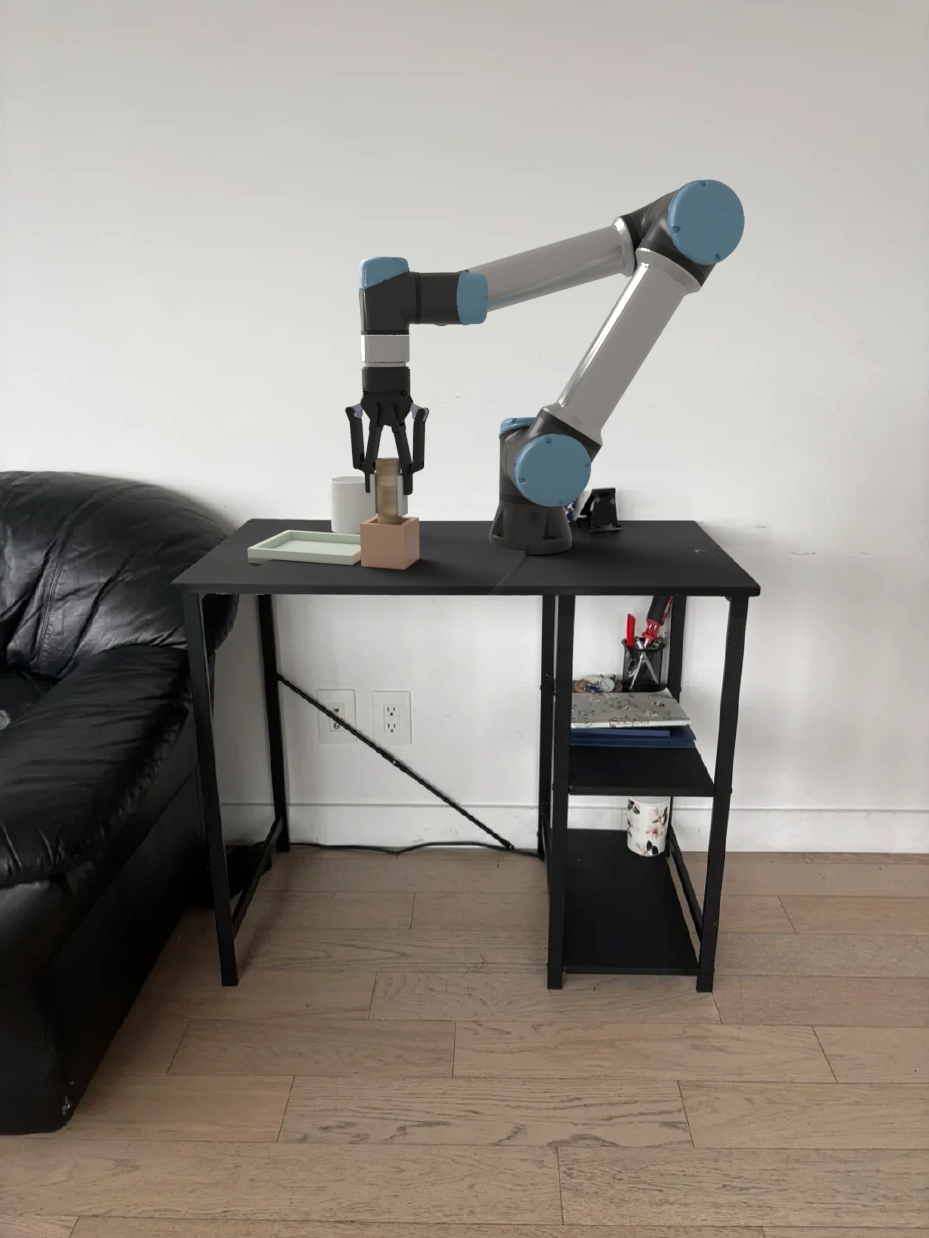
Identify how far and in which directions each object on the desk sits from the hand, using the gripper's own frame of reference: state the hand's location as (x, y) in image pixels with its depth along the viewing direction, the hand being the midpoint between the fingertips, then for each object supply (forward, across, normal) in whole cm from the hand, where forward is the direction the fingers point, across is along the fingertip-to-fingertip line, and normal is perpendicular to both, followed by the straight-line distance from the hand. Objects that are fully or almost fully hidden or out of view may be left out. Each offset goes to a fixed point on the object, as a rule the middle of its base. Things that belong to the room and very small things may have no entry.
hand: (389, 513), depth 143 cm
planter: (+9, 0, 0) cm, 9 cm away
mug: (+9, +14, -22) cm, 28 cm away
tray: (+9, +15, -4) cm, 18 cm away
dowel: (+8, 0, 0) cm, 8 cm away
